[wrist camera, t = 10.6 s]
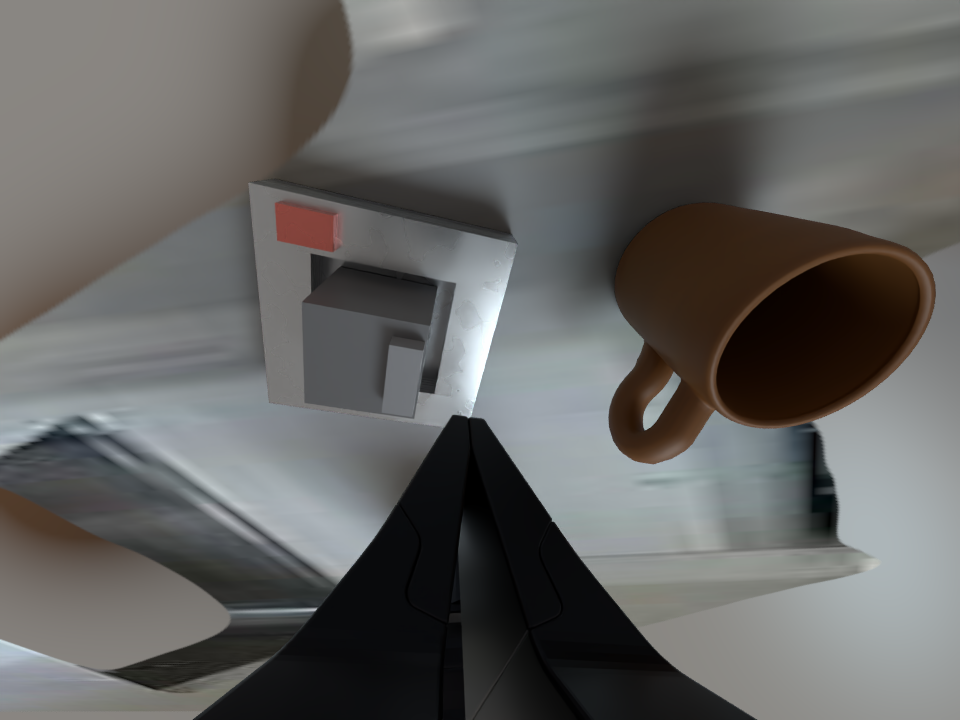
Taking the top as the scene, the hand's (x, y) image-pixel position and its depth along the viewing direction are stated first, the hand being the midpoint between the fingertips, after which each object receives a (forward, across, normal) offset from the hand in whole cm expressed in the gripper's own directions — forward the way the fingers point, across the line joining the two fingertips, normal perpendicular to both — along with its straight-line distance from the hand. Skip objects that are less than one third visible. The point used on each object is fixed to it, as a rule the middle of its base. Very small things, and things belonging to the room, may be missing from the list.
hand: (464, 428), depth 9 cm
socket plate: (+12, +4, +3) cm, 13 cm away
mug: (+13, -11, -1) cm, 17 cm away
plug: (+12, +4, +3) cm, 13 cm away
